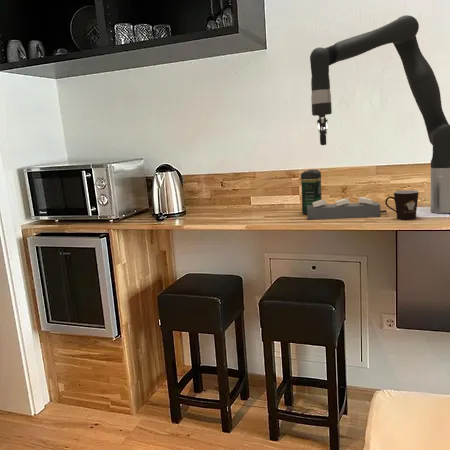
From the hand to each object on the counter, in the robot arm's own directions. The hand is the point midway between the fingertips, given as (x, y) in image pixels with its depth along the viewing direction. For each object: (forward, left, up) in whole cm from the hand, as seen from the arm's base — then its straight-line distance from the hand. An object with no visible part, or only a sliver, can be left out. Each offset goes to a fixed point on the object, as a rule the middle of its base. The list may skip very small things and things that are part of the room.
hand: (323, 144), depth 190 cm
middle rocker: (-7, +1, -23) cm, 24 cm away
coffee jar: (+5, -11, -29) cm, 32 cm away
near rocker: (-16, +1, -23) cm, 28 cm away
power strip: (-8, 0, -29) cm, 30 cm away
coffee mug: (-28, +10, -29) cm, 41 cm away
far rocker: (+2, +1, -23) cm, 23 cm away
